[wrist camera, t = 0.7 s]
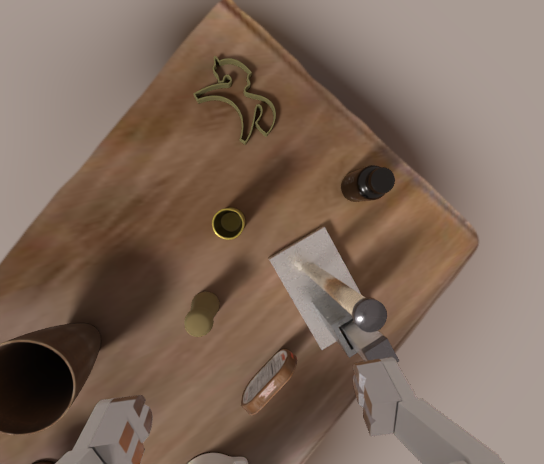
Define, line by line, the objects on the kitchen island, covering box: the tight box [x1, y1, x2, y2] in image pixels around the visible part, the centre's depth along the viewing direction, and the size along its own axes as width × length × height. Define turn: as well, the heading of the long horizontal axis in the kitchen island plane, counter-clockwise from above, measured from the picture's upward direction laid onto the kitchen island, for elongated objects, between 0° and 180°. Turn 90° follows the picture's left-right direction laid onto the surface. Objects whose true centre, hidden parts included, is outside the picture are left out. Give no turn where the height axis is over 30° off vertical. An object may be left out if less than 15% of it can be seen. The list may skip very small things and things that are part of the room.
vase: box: [212, 208, 245, 240], centre depth 51 cm, size 6×6×14 cm
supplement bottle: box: [341, 165, 395, 202], centre depth 55 cm, size 7×7×12 cm
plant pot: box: [0, 323, 101, 435], centre depth 48 cm, size 15×15×16 cm
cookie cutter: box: [194, 56, 276, 145], centre depth 56 cm, size 18×12×2 cm, turn 48°
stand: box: [269, 227, 387, 358], centre depth 47 cm, size 24×14×29 cm, turn 30°
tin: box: [241, 349, 297, 415], centre depth 57 cm, size 15×3×8 cm, turn 136°
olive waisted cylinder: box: [184, 292, 220, 337], centre depth 53 cm, size 6×6×11 cm
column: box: [339, 319, 399, 362], centre depth 49 cm, size 4×4×20 cm
